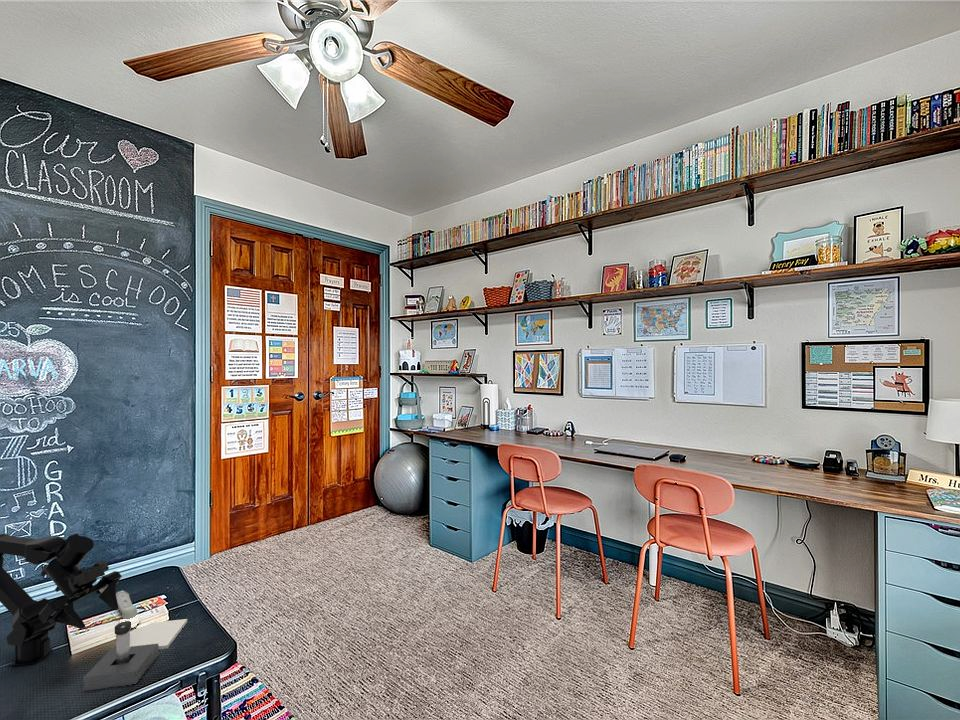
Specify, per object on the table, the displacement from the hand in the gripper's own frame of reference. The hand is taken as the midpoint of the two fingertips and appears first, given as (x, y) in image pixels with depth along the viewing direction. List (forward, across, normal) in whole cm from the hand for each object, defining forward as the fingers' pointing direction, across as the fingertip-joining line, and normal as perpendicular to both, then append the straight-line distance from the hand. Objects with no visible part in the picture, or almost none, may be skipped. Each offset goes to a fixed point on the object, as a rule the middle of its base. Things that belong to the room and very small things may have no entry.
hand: (101, 618), depth 127 cm
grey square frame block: (+15, 0, +5) cm, 16 cm away
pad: (+11, +14, +9) cm, 20 cm away
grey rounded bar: (-3, +24, +23) cm, 33 cm away
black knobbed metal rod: (+15, 0, +5) cm, 16 cm away
